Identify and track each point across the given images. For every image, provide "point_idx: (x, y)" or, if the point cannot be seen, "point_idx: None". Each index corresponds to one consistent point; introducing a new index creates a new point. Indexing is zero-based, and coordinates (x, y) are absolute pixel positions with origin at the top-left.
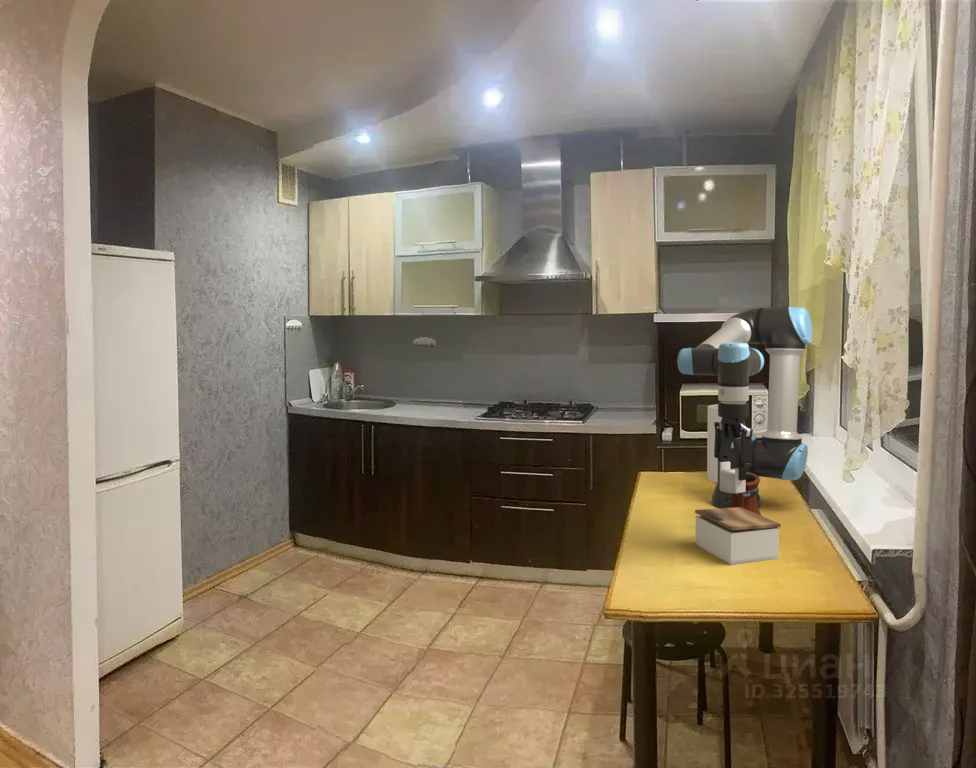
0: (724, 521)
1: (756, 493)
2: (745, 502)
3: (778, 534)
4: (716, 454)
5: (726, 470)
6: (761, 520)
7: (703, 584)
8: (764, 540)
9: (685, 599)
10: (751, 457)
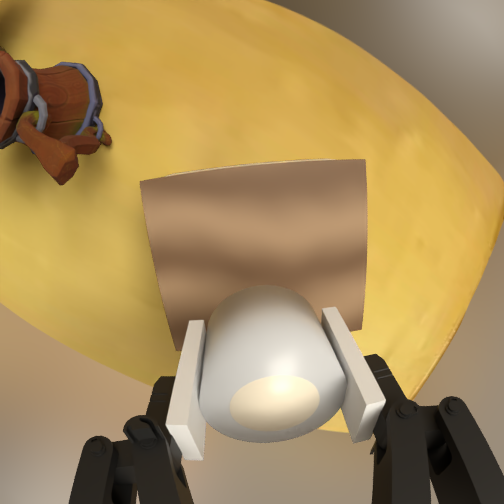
0: None
1: (33, 71)
2: (47, 111)
3: None
4: (136, 489)
5: (247, 422)
6: (319, 200)
7: (380, 353)
8: None
9: (402, 381)
10: (480, 440)
